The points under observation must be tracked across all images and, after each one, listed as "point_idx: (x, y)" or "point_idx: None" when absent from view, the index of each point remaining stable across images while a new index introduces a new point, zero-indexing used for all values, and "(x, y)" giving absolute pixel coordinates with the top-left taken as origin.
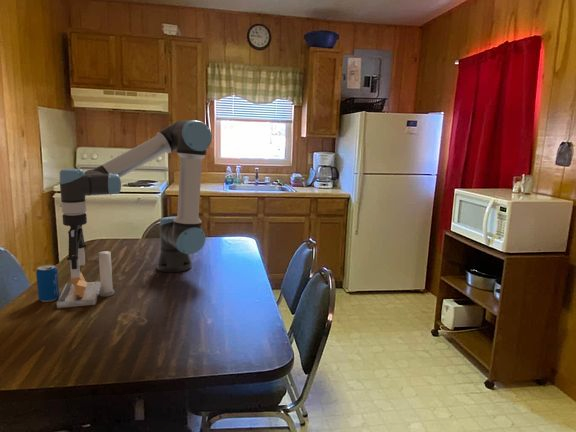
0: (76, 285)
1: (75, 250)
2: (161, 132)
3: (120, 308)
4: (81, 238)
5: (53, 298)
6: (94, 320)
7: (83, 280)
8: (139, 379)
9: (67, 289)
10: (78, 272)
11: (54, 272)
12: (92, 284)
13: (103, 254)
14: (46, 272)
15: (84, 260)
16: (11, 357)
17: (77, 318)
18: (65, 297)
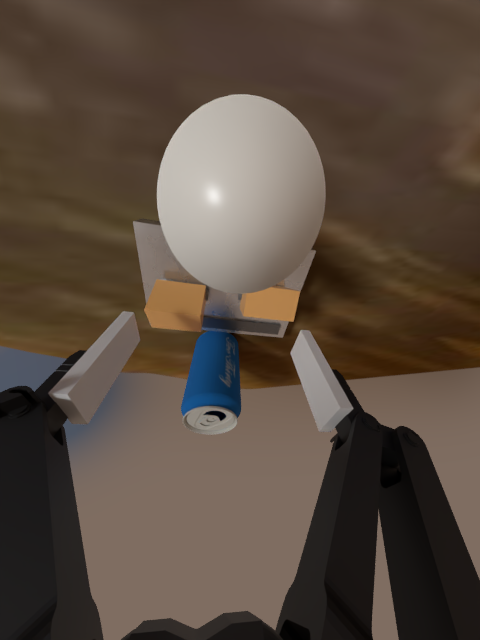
0: (204, 306)
1: (444, 511)
2: None
3: (401, 159)
4: (56, 575)
5: (236, 340)
6: (415, 254)
7: (176, 290)
8: None
9: (203, 321)
10: (316, 348)
11: (231, 394)
12: (166, 253)
13: (314, 242)
14: (239, 411)
15: (121, 328)
16: (428, 367)
17: (368, 291)
18: (264, 324)
